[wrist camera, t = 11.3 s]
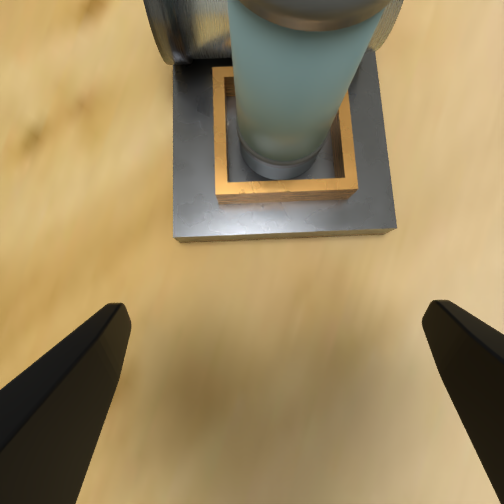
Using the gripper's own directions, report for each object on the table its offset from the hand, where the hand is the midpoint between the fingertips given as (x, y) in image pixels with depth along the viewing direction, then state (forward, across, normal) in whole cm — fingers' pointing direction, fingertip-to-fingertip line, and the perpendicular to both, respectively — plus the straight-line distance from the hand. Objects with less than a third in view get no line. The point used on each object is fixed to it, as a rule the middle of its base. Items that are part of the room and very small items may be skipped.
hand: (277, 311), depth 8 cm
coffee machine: (+20, -1, -1) cm, 20 cm away
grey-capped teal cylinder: (+16, -2, 0) cm, 16 cm away
